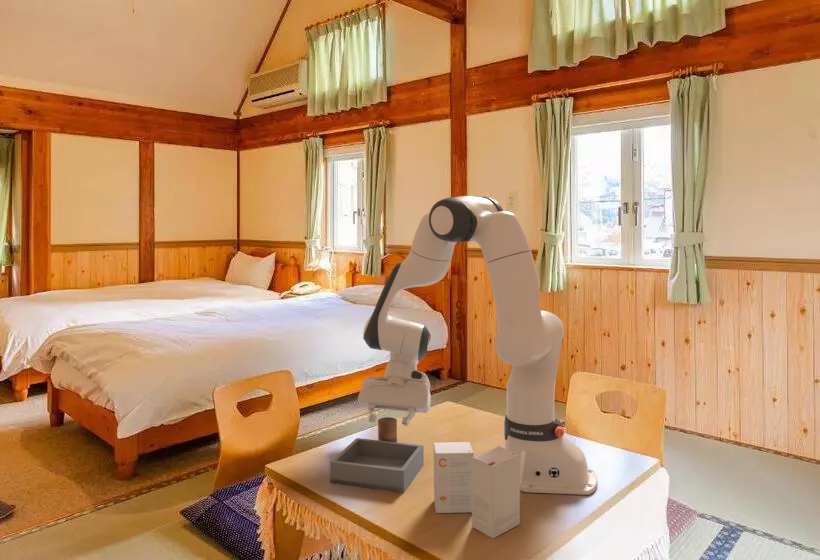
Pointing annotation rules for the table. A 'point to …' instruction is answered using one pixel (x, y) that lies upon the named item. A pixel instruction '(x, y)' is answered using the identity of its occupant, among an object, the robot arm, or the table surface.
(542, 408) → the robot arm
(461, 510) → the small box
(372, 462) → the tote
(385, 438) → the walnut cylinder
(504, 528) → the skincare box
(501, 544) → the table surface
